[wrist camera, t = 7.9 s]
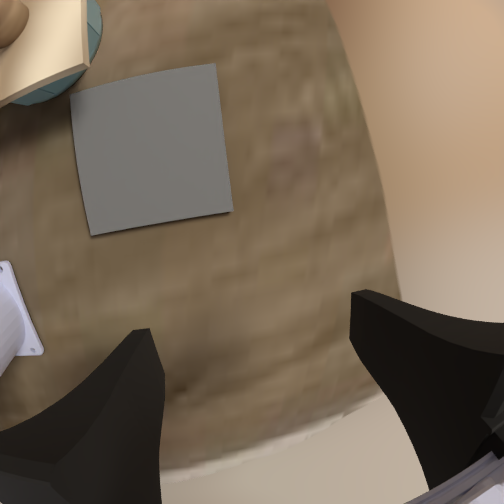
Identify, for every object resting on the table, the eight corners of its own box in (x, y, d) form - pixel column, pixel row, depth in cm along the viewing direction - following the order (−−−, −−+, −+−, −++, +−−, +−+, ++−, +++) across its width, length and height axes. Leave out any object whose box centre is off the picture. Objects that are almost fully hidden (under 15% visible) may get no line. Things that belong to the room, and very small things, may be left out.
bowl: (-1, 121, 14) (-35, 120, 10) (3, 21, 11) (-24, 6, 8) (105, 82, 15) (83, 67, 11) (104, -22, 12) (89, -49, 9)
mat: (94, 233, 18) (91, 235, 17) (73, 95, 15) (69, 94, 14) (232, 209, 19) (233, 211, 18) (215, 65, 16) (215, 63, 15)
